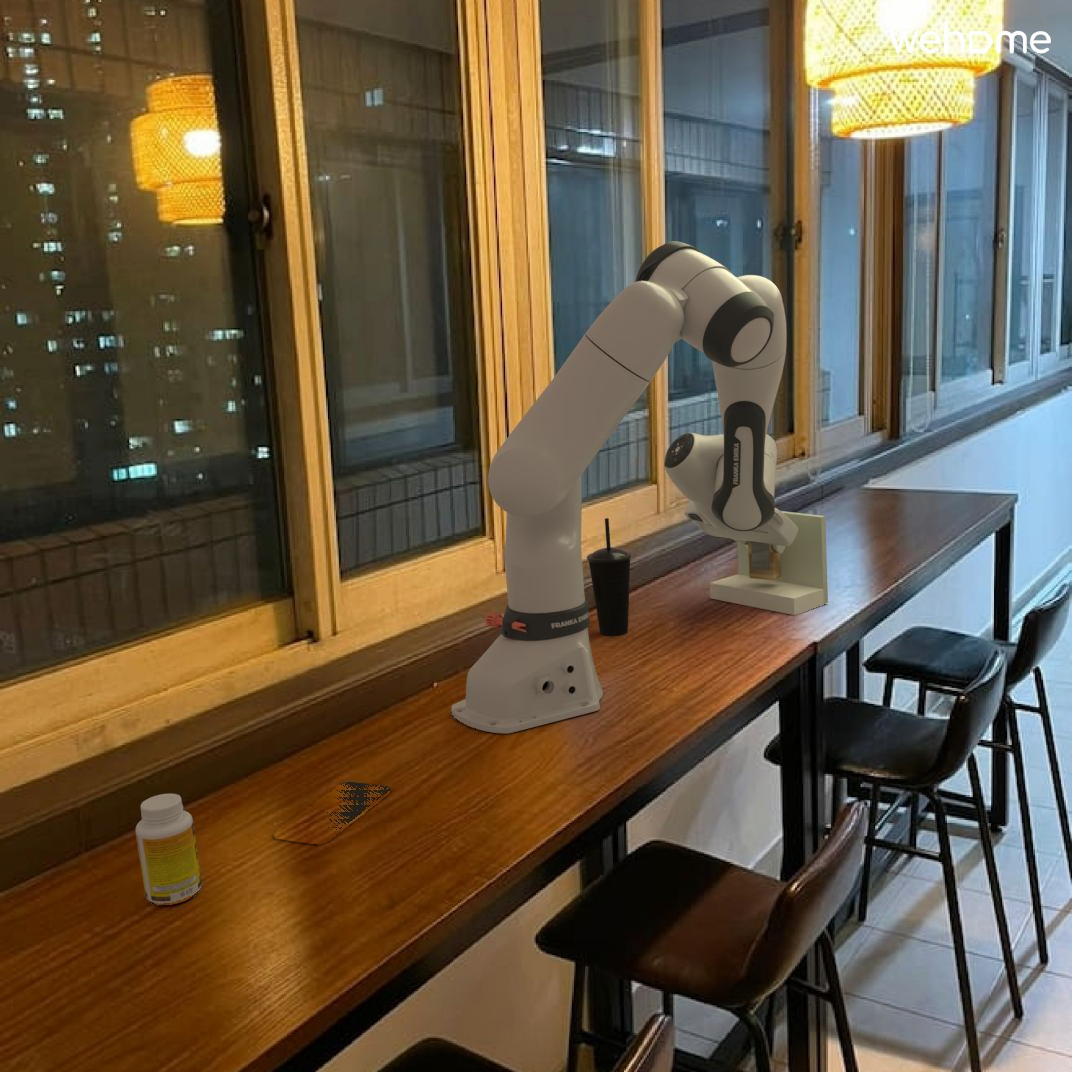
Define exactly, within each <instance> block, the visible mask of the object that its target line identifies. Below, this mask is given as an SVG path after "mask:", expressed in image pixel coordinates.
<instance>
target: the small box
mask: <svg viewBox="0 0 1072 1072" xmlns="http://www.w3.org/2000/svg"><path fill="white" fill-rule="evenodd" d="M772 545H773V544H772ZM772 545H771V544H767V543H760V542H753V541H748V553H749V575H750V578H754V579H766V580H775V579H777V578H779V577H781V561H780V554H779V553H774V551H772V550H771V546H772Z"/></svg>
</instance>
